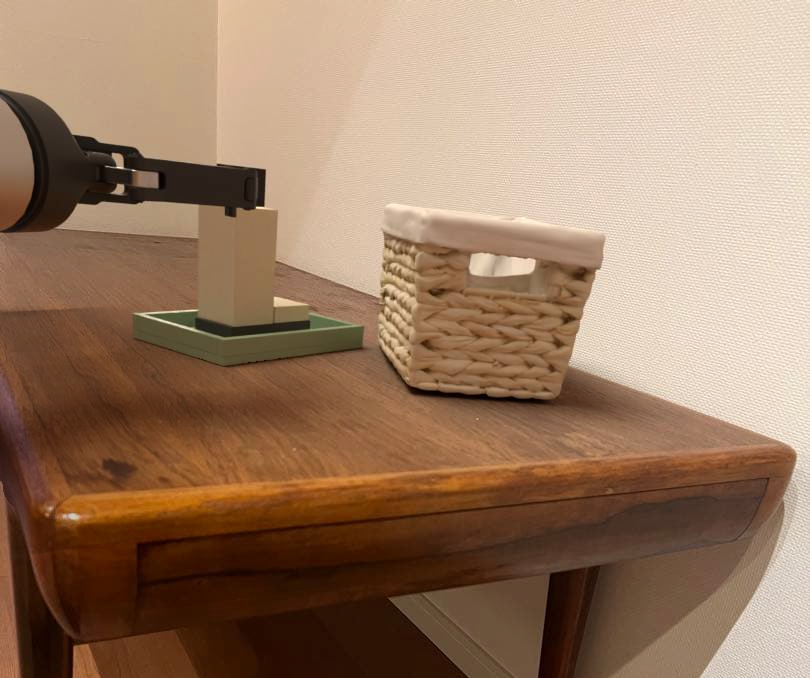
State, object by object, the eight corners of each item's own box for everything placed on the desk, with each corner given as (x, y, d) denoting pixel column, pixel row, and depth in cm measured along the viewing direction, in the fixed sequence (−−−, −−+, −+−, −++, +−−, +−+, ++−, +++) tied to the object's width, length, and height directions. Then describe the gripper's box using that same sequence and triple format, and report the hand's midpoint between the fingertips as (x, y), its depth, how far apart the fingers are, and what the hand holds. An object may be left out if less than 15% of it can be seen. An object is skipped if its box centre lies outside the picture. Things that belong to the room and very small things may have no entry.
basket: (366, 340, 87) (380, 197, 81) (505, 353, 90) (528, 216, 84) (398, 397, 66) (419, 208, 60) (578, 410, 69) (616, 232, 63)
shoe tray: (132, 337, 75) (132, 313, 74) (277, 325, 90) (278, 304, 89) (223, 366, 68) (224, 339, 67) (362, 347, 83) (364, 325, 82)
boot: (230, 344, 73) (234, 206, 68) (194, 334, 76) (195, 200, 71) (309, 336, 82) (317, 212, 77) (275, 327, 84) (280, 206, 79)
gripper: (-183, 204, 48) (51, 207, 66) (184, 264, 43) (324, 248, 61) (-208, 62, 44) (45, 107, 63) (184, 109, 39) (332, 142, 58)
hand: (183, 176), depth 62 cm, fingers open, 13 cm apart
